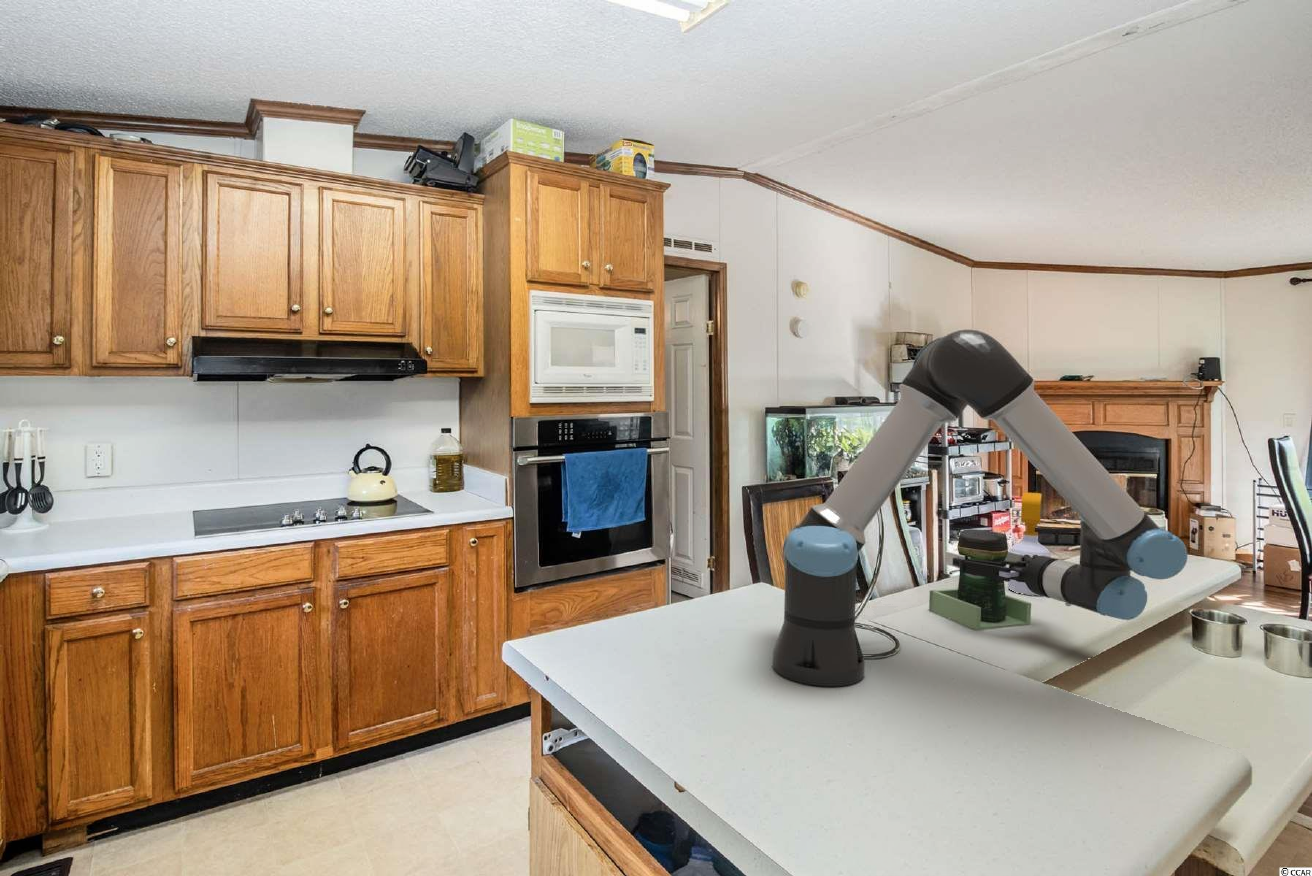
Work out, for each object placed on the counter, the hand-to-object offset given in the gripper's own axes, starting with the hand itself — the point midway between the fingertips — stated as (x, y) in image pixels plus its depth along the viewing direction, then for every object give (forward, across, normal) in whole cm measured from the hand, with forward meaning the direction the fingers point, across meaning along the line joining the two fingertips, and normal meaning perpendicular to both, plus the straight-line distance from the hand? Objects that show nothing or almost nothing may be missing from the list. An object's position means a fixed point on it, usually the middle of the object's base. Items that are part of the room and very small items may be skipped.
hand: (971, 556), depth 150 cm
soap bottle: (+12, +29, -13) cm, 34 cm away
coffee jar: (-3, 0, -13) cm, 13 cm away
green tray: (-3, 0, -13) cm, 13 cm away
